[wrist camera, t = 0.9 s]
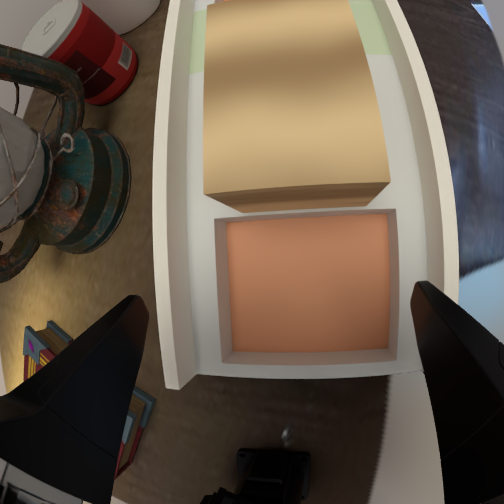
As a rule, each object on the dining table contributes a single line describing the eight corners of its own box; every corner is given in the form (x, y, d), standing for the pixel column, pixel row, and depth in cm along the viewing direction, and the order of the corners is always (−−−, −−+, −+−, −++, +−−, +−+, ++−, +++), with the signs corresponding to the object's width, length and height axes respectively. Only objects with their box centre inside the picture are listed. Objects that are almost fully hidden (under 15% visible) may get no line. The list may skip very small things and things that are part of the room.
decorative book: (134, 463, 26) (112, 485, 21) (40, 385, 29) (13, 396, 24) (158, 397, 25) (129, 420, 20) (48, 313, 28) (16, 320, 23)
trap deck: (421, 355, 20) (449, 385, 14) (199, 359, 24) (165, 387, 18) (354, -33, 20) (354, -70, 14) (199, -16, 24) (180, -48, 18)
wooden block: (366, 206, 18) (390, 181, 11) (242, 213, 20) (203, 194, 13) (341, 52, 18) (343, -12, 11) (237, 62, 20) (207, 5, 13)
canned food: (121, 39, 26) (66, -10, 15) (153, 65, 25) (89, 5, 14) (77, 87, 27) (13, 50, 17) (101, 119, 26) (25, 79, 16)
